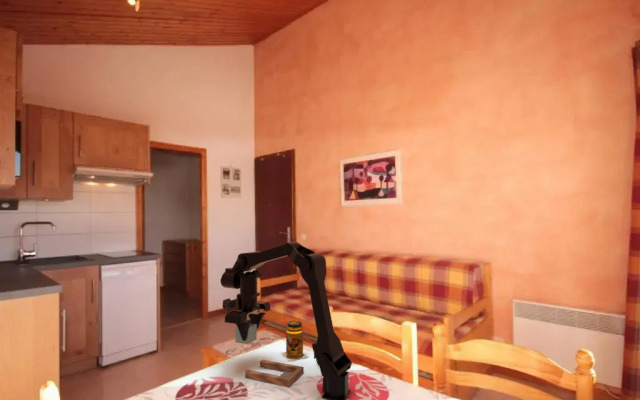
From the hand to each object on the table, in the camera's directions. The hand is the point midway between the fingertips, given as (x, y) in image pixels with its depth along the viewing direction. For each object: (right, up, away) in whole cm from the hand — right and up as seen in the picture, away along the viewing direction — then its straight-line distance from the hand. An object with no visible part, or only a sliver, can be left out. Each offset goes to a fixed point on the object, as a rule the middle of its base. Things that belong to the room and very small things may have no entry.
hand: (248, 337), depth 116 cm
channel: (+9, -10, -5) cm, 14 cm away
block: (-1, -1, 0) cm, 1 cm away
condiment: (+14, -11, +11) cm, 21 cm away
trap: (+13, -10, -7) cm, 17 cm away
